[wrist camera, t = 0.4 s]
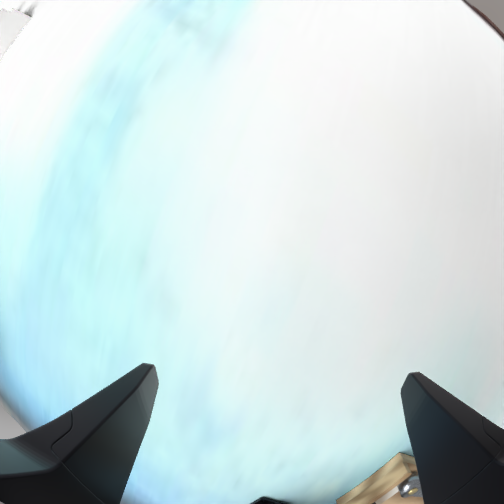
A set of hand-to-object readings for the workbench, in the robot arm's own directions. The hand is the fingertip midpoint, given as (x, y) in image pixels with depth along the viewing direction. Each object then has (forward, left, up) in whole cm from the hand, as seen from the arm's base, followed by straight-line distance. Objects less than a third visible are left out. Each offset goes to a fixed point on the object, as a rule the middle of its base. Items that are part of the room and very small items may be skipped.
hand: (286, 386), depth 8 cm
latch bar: (-12, -34, -13) cm, 38 cm away
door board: (-15, -36, -15) cm, 42 cm away
